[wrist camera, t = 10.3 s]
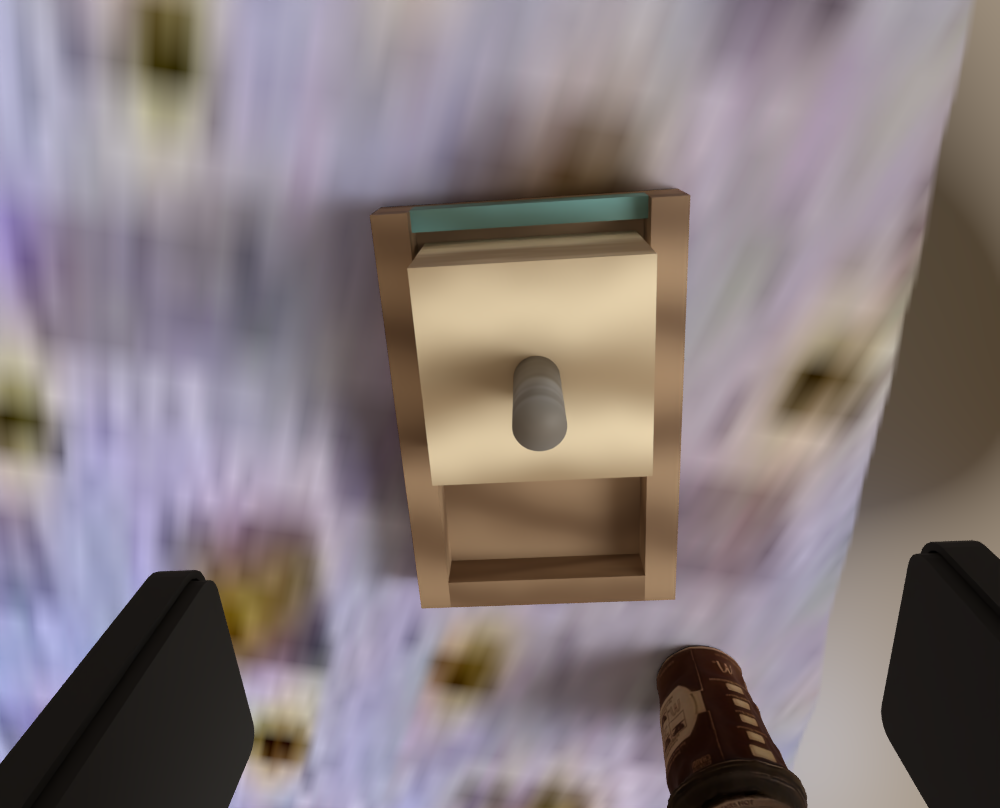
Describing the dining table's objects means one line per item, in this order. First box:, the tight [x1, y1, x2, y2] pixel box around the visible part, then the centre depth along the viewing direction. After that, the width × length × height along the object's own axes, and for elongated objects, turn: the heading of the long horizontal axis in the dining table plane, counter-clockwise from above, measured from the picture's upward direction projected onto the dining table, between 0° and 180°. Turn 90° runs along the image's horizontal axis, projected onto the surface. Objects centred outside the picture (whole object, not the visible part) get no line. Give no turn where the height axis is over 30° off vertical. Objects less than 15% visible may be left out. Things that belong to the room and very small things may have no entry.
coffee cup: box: [657, 646, 807, 808], centre depth 48 cm, size 9×8×13 cm
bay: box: [370, 189, 690, 608], centre depth 44 cm, size 26×17×3 cm, turn 4°
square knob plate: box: [407, 230, 657, 486], centre depth 37 cm, size 12×12×13 cm
